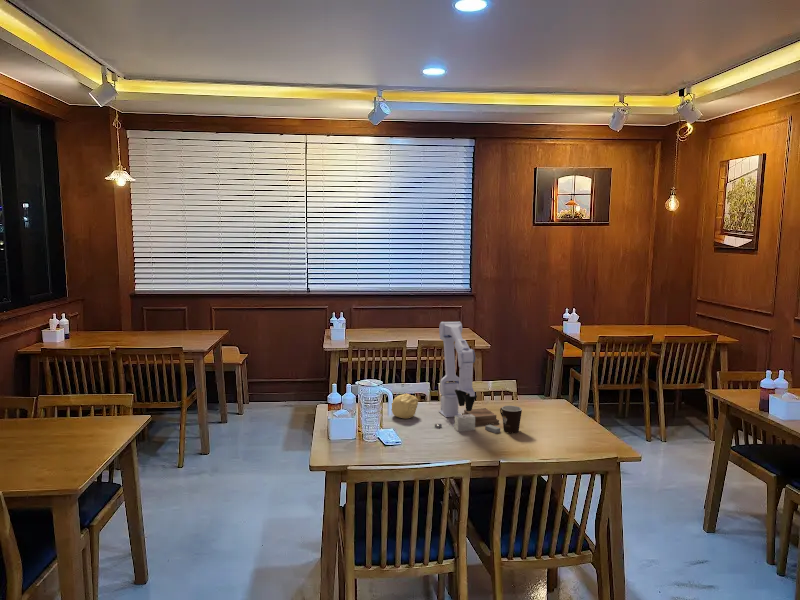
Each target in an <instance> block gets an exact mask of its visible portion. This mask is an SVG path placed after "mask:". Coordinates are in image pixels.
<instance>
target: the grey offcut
mask: <svg viewBox="0 0 800 600" xmlns="http://www.w3.org/2000/svg"><path fill="white" fill-rule="evenodd" d="M484 430H486V431H488V432H491V433H494V434H499V433H501V427H499V426H496V425H494V424H488V425H484Z"/></svg>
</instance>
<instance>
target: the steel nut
mask: <svg viewBox="0 0 800 600" xmlns="http://www.w3.org/2000/svg"><path fill="white" fill-rule="evenodd" d="M442 425H443V424H441V423H435V424H434V428H435V429H442Z"/></svg>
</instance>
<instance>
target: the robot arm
mask: <svg viewBox="0 0 800 600" xmlns="http://www.w3.org/2000/svg"><path fill="white" fill-rule="evenodd" d="M438 327H439V328H438V333H439V334H438V335H439V339H440V340H441V341H443V351H444V353H443V355H444V368H445V375H444V376H443V377H442V378H440V381H439V393H440V395H441V397H440V410H438V412H439V413H440V414H441V415H442V416H444V417H445V418H453V417H454V418H455V415H462V413H459V407H464V406H465V410H466V411H471V410H472V409H473V406H474V403H475V402H476V400H477V397H478V395H476V392H475V390H474V388H473V381H474V380H473V377H474V376H473V375H474V364H475V362H476V353H475V350H474V349H472V348H470V346H469V344H468V341H467V340H466V339H464V338H463V335H462V333H463V323H462V322H461V321H440V323H439V326H438ZM455 351H456V352H457V353H456V354H457V362H458V367H459V368H458V369H459V371H458V372H459V376H458V375H457V374H456V357H455Z"/></svg>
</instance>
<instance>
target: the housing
mask: <svg viewBox="0 0 800 600" xmlns="http://www.w3.org/2000/svg"><path fill="white" fill-rule="evenodd" d="M453 426H454V430H456V431H457V432H459V433H460V432H467V431H475V430H476V426H475V416H474V415H472V414H466V415H462V414H461V415H455V417H454V424H453Z"/></svg>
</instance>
